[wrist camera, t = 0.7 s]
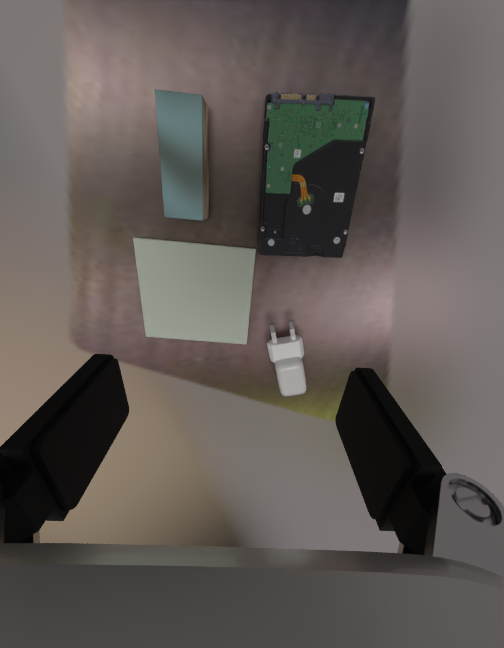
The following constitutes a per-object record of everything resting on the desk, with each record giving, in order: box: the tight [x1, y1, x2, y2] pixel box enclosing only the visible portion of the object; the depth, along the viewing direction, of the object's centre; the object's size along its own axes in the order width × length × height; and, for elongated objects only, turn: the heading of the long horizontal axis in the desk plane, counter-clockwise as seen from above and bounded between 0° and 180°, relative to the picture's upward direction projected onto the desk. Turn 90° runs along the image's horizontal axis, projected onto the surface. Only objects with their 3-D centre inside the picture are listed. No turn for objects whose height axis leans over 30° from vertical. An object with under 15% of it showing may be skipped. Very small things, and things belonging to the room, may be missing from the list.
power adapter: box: [267, 320, 306, 396], centre depth 34 cm, size 11×5×6 cm, turn 12°
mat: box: [133, 237, 256, 344], centre depth 33 cm, size 14×15×1 cm
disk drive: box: [259, 92, 375, 258], centre depth 26 cm, size 10×3×15 cm
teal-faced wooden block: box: [155, 90, 209, 221], centre depth 25 cm, size 10×4×4 cm, turn 175°
